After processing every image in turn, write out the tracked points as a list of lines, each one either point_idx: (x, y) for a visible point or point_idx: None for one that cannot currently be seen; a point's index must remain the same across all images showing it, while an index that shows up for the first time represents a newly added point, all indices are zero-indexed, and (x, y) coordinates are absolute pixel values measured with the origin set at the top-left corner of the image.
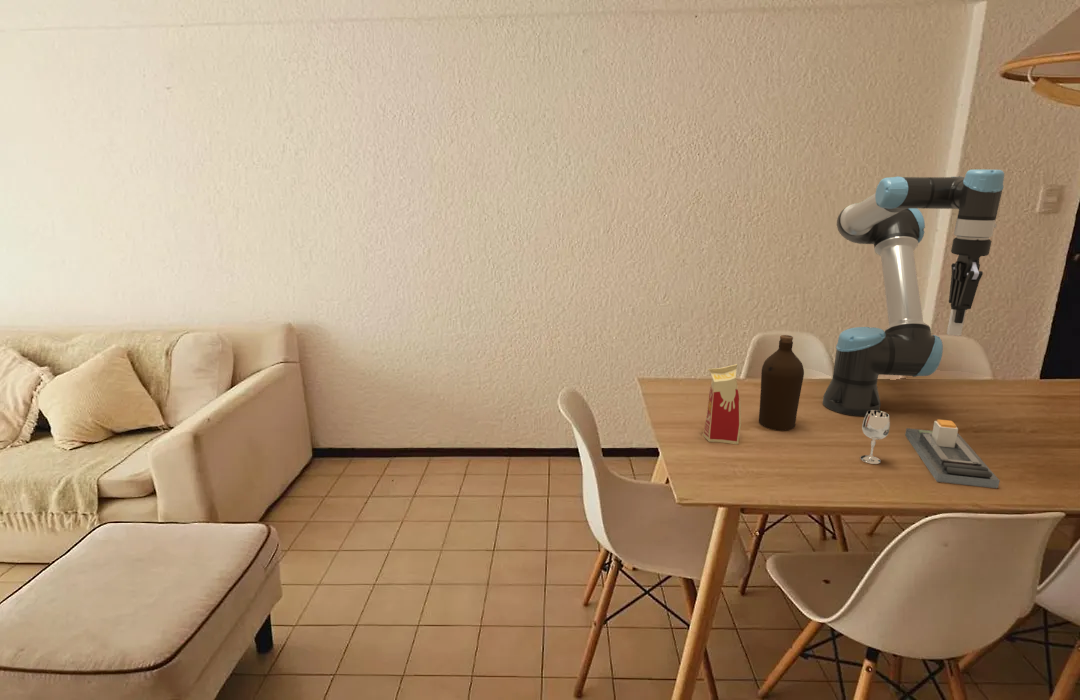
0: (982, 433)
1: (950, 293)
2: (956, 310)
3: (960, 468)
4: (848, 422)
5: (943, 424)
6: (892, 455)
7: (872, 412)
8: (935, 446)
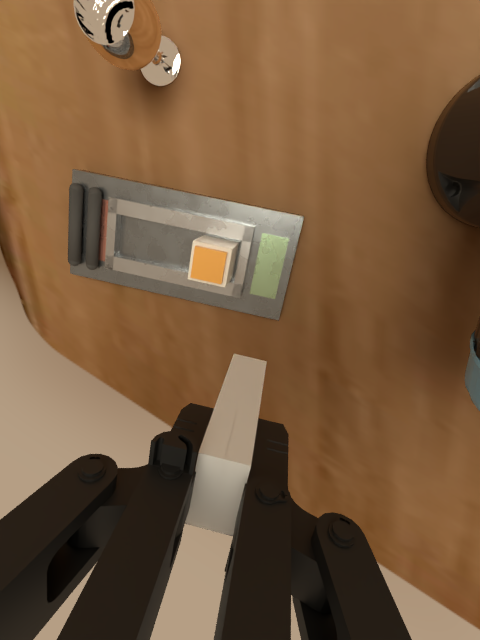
0: (315, 383)
1: (371, 618)
2: (195, 464)
3: (73, 212)
4: (389, 94)
5: (195, 250)
6: (190, 130)
7: (138, 6)
8: (176, 219)
